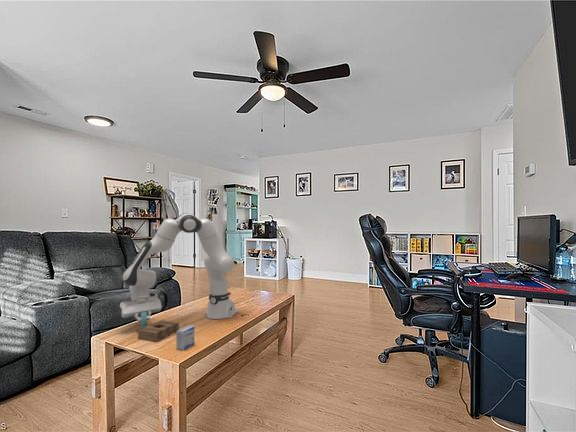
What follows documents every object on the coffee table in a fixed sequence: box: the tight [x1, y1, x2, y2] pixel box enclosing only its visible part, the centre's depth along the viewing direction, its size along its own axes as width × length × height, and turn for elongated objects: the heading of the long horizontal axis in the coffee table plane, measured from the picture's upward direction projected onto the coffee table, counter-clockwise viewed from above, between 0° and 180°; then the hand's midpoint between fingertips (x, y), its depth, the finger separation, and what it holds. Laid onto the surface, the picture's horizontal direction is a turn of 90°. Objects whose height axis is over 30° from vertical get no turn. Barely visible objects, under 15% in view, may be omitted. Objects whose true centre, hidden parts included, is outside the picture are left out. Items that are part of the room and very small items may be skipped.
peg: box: [140, 312, 148, 329], centre depth 158 cm, size 3×3×10 cm
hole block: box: [137, 319, 180, 343], centre depth 153 cm, size 16×12×4 cm
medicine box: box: [175, 325, 196, 351], centre depth 138 cm, size 8×4×9 cm, turn 160°
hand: (144, 320), depth 158 cm, fingers closed on peg, 3 cm apart
